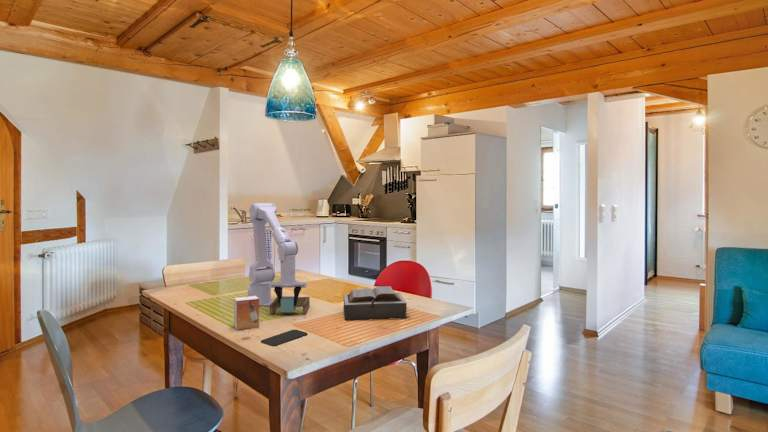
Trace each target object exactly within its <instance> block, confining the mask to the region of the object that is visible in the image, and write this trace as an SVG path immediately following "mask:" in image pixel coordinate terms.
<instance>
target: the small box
mask: <svg viewBox="0 0 768 432" xmlns="http://www.w3.org/2000/svg"><path fill="white" fill-rule="evenodd" d="M233 326H234V328H235V330H237V331H238V330H245V329H255V328H256V329H257V328H260V306H259V298H258V297H257V296H249V297H248V296H242V297H241V296H240V297H234V298H233Z"/></svg>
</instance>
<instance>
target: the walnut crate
mask: <svg viewBox="0 0 768 432" xmlns="http://www.w3.org/2000/svg"><path fill="white" fill-rule="evenodd" d="M310 298H311V297H310V296H298V299H297V305H296V308H299V307H301V308H302V316H304V315H306V314H307V312H308V310H309V308H310ZM279 308H281V306H280V304H279V300H278V297H277V296H276V297H275V298H274V299H273V302H272V303H271V304H270V305H269V316H273V314H275V312H276V311H277V309H279Z"/></svg>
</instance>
